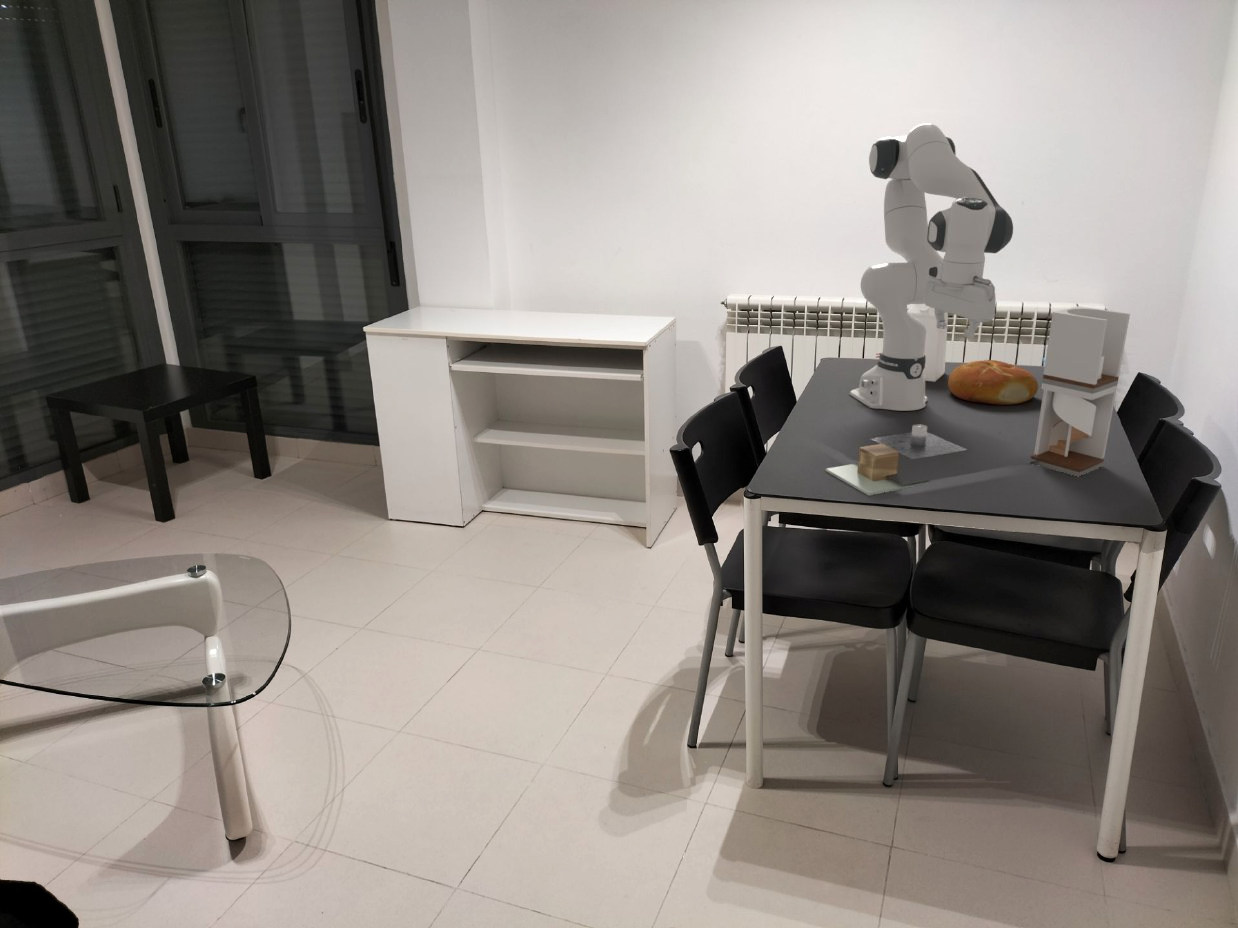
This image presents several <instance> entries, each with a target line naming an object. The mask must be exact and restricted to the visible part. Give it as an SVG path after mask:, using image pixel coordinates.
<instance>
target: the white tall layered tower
mask: <svg viewBox="0 0 1238 928" xmlns="http://www.w3.org/2000/svg"><path fill="white" fill-rule="evenodd" d="M1130 317H1131V313H1129V312H1121V311H1113V310H1107V309H1100V308H1093V307H1086V306H1079V305H1076V306H1073V307H1069V308H1063V309H1060V310H1057V311H1053V312H1052V315H1051V322H1050V328H1049V330H1050V331H1049V336H1048V342H1047V347H1048V348H1047V347H1046V353H1045V354H1046V356H1045V358H1046V361H1045V367H1044V368H1043V375H1042V382H1041V390H1043V392H1042V398H1041V406H1040V411H1039V412H1040V413H1039V418H1038V427H1037V433H1036V438H1035V445H1034V446H1035V447H1034V453H1033V454H1031V456H1030V457H1031V459H1035V460H1033V461H1030V462H1029V464H1030V463H1032V464H1031V465H1033V464H1034V466H1037V465H1040V466H1042V467H1041V468H1044V467H1046V468H1045V469H1047V468H1049V469H1048V470H1051V469H1053V470H1052V471H1054V470H1056V471H1055V472H1058V471H1061V472H1065V473H1067V474H1066V475H1068V474H1072V475H1074V476H1073V477H1075V476H1081V475H1083V474H1085V475H1087V474H1088V473H1087V472H1090V471H1092V472H1094V471H1096V470H1099V469H1100V468H1099V467H1101V468H1102V466H1103V465H1104V462H1105V461H1104V460H1105V455H1106V449H1107V443H1108V438H1109V433H1110V429H1111V421H1112V418H1113V417H1112V416H1113V411H1114V405H1115V399H1116V395H1117V390H1118V382H1119V377H1120V373H1121V372H1120V371H1121V367H1122V361H1123V355H1124V350H1125V344H1126V338H1127V334H1128V328H1129V323H1130V322H1129V321H1130ZM1040 466H1039V467H1040ZM1095 469H1096V470H1095ZM1093 470H1094V471H1093ZM1061 472H1060V473H1061ZM1065 473H1064V474H1065ZM1086 473H1087V474H1086ZM1090 473H1091V472H1090ZM1072 475H1071V476H1072ZM1083 476H1084V475H1083ZM1081 477H1082V476H1081Z"/></svg>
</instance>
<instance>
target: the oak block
mask: <svg viewBox="0 0 1238 928" xmlns="http://www.w3.org/2000/svg"><path fill="white" fill-rule="evenodd" d="M858 449H859V450H858V460H857V461H858V462H857V463H858V472H857V473H859V474H861V475H863V476H865V477H867V478H868V479H870V480H872V481H879V480H885V479H891V478H890V477H888V476H893V475H897V473H898V467H899V466H898V464H899V457H900V456H899V454H900V453H899V452H898V451H896V450H894V449H892V448H890V447H888V446H886V445H884V444H879V443H877V444H871V445H864V446H860V447H859V448H858Z"/></svg>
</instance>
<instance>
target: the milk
mask: <svg viewBox="0 0 1238 928" xmlns="http://www.w3.org/2000/svg"><path fill="white" fill-rule="evenodd" d="M934 311H935V308H932V307H929V306H926V305H925V304H909V307H908V308H907V313H908V314H909V315H911V316H913V317H915V318H917V319H918V320H920V321H921V322H922V323H923V324H924V325H925V327H926V330H927V333H926V343H925V353H924V355H925V356H926V363H925V368H924V369H923V372H924V373H925V382H927V381H928V382H934V383H935V382H936V381H938V379H940V378H941V377H942V376H943V375H944V374H945V370H946V354H947V353H946V352H947V338H948V337H947V335H948V326H947V327H946V329H939V328H937V327H936V326H937V320H936V317H935V313H934ZM944 317H945V321H947V325H948V321H949V314H948V312H945V313H944Z"/></svg>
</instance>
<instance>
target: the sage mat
mask: <svg viewBox="0 0 1238 928" xmlns="http://www.w3.org/2000/svg"><path fill="white" fill-rule="evenodd" d="M825 472H826V473H828V474H829V475H832V476H834V477H835V478H836V479H839V480H841V481H842V482H844V483H846V484H848V485H849V486H851V487H853V488H854V489H856V490H858V491H860V492H861V493H863V494H865V495H866V496H869V497H870V496H873V495H874V494H875V495H879V494H884V492H885V493H890V491H891V492H896V491H900V489H902V490H906V489H911V488H916V487H923V486H928V485H930V483H931V481H929V480H924V481H920V482H913V483H908V484H907V483H906V484H902V483H900V482H899V481H898V482H897V481H896V480H895V479H893V478H890V479H885V480H879V481H872V480H870V479H868V478H867V477H865V476H863V475H861V474H859V473H857V472H858V462H857V463H851V464H844V465H840V466H839V465H838V466H833V467H827V468H825Z"/></svg>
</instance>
